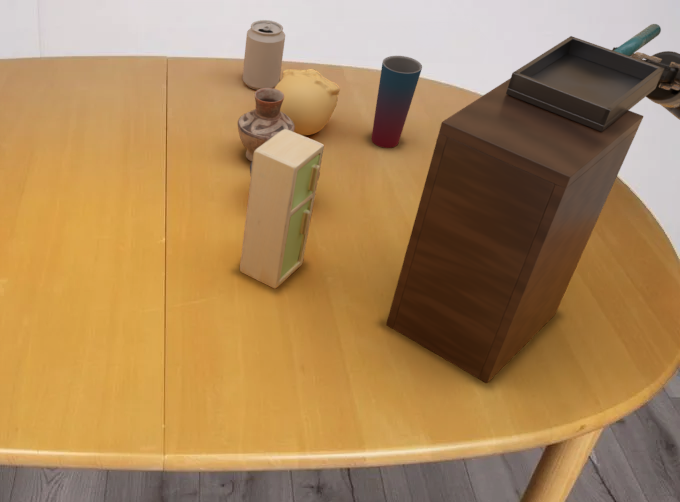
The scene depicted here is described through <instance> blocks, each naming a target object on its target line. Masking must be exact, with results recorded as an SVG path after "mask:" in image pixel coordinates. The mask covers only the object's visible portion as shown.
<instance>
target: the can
mask: <svg viewBox="0 0 680 502" xmlns="http://www.w3.org/2000/svg"><path fill="white" fill-rule="evenodd" d="M283 30H284V27H283V25H282V24H281V23H280V22H277V21H273V20H267V19H262V20H261V19H260V20H256V21H254V22H252V23H251V24H250V28H249V29H248V30H247V31H246V36H245V38H246V39H245V48H244V57H243V67H242V77H241V79H242V81H243V83H245V85H246V86H247V87H248V88H250V89H251V90H255V91H257V90H259V89H262V88H275V87H276V85H277V84H278V83H279V82H280V81H281V79H280V78H281V71H282V63H283V56H284V49H285V41H286V34H285V32H284V31H283Z"/></svg>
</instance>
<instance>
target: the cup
mask: <svg viewBox="0 0 680 502" xmlns="http://www.w3.org/2000/svg"><path fill="white" fill-rule="evenodd" d="M422 69H423V65H422V63H421V62H420V61H418V60H417V59H415V58H412V57H409V56H406V55H405V56H404V55H390V56H387V57H385V58H384V59H383V60H382V64H381V69H380V75H379V76H380V78H379V82H378V90H377V97H376V104H375V111H374V118H373V125H372V132H371V137H370V139H371V140H370V141H371V142H372V143H373V144H374V145H376V146H378V147H380V148H386V149H390V148H391V149H392V148H395V147H397V146H398V145H399V143H400V139H401V138H402V137H401V136H402V133H403V130H404V127H405V123H406V121H407V118H408V114H409V111H410V108H411V104H412V101H413V98H414V95H415V93H416V89H417V85H418V83H419V79H420V76H421V73H422Z"/></svg>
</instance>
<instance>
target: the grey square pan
mask: <svg viewBox="0 0 680 502" xmlns="http://www.w3.org/2000/svg"><path fill="white" fill-rule="evenodd" d="M661 32H662V28H661V26H660V25H659V24H657V23H651V24H649V25H648V26H647V27H645V28H644V29H642V30H641V31H639V32H638V33H637V34H635V35H634V36H632V37H631V38H629V39H628V40H626V41H625V42H623V43H622V44H621V45H619V46H617V47H618V48H616V47H615V48H616V49H615V50H614V51H613V49H610V48H607V47H604V46H601V45H599V44H596V43H592V42H590V41H587V40H584V39H581V38H578V37H575V36H572V35H570V36H569V37H567V38H565V39H564V40H562V41H561V42H559V43H557V44H556V45H554V46H553V47H551V48H550V49H548V50H547V51H545V52H543V53H541V54H540V55H539V56H537V57H535V58H534V59H532V60H530V61H529V62H527V63H526V64H524V65H523V66H521V67H520V68H518V69H516V70H515V71H513V72H512V73H511V76H510V78H511V79H510V78H509V79H510V82H509V85H508V89H507V92H506V94H508V95H510V96H513V97H515V98H518V99H520V100H523V101H525V102H528V103H530V104H533V105H535V106H538V107H540V108H543V109H545V110H548V111H550V112H553V113H556V114H558V115H561V116H563V117H566V118H568V119H571V120H573V121H576V122H578V123H581V124H583V125H586V126H588V127H591V128H593V129H596V130H598V131H601V132H602V131H603V130H605V129H606V128H607V127H608V126H610V125H611V124H612V123H613V122H615V121H616V120H617V119H618V118H620V117H621V116H622V115H623V114H625V113H626V112H627V111H628V110H629V111H631V109H632V108H633V107H635V106H636V105H638V103H639V102H641V101H642V100H643V99H644V98H647V97H646V96H647V95H648V94H649V93H651V92H652V91H653V90H654V89H655V88H656V86H657V83H658V82H659V80H660V77H661V75H662V73H663V71H664V68H662V67H659V66H656V65H653V64H650V63H647V62H644V61H642V60H643V59H642V60H639V59H636V58H633V57H630V55H632V54H633V53H634V54H635V53H636V52H638V51H639V50H640V49H642V48H643V47H645V46H646V45H647V44H648V43H650V42H651V41H653V40H654V39H656V38H657V37H658V36H659V35H660V34H661Z"/></svg>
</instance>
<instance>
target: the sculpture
mask: <svg viewBox="0 0 680 502" xmlns="http://www.w3.org/2000/svg"><path fill="white" fill-rule="evenodd" d="M274 89H277V90H279V91H281V92H282V93H283V94H284V100H283V102H282V105H281V108H280V111H281V112H283V113H284V114H286V115H287V116H288V117H289V118H290V119H291V120H292V121H293V123H294V125H295V130H294V132H295V133H297V134H300V135H302V136H310V135H314V134H316V133H319V132H320V131H322V130H323V129H324V128H325V126H326V125H327V124H328V122H329V120H330V119H331V117H332V115H333V113H334V111H335V109H336V107H337V106H338V105H337V104H338V99H339V97H338V96H339V95H340V91H341V88H340V87H339V85H338V84H337V83H336V82H334V81H332V80H329V79H327V78H326V77H325V76H323V75H322V73H320V72H319V71H318V70H316V69H314V68H307V69H284V70H283V71H282V78H281V79H280V80H279V83H278V84H277V85H276V86H275V87H274Z"/></svg>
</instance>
